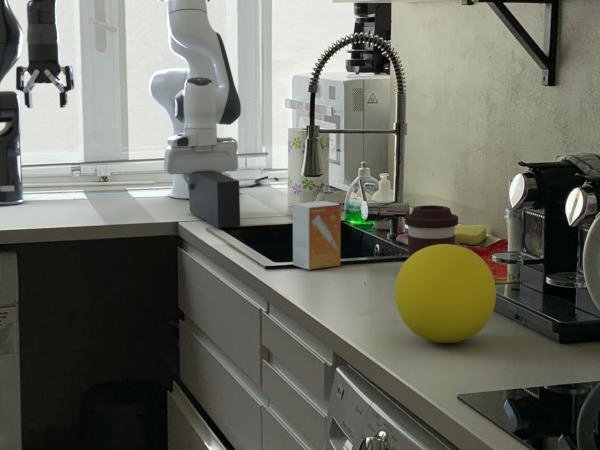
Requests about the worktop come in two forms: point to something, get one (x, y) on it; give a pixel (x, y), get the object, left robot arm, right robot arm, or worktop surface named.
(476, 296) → the toy
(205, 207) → the box
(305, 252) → the small box
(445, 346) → the worktop surface
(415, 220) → the coffee cup
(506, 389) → the worktop surface
